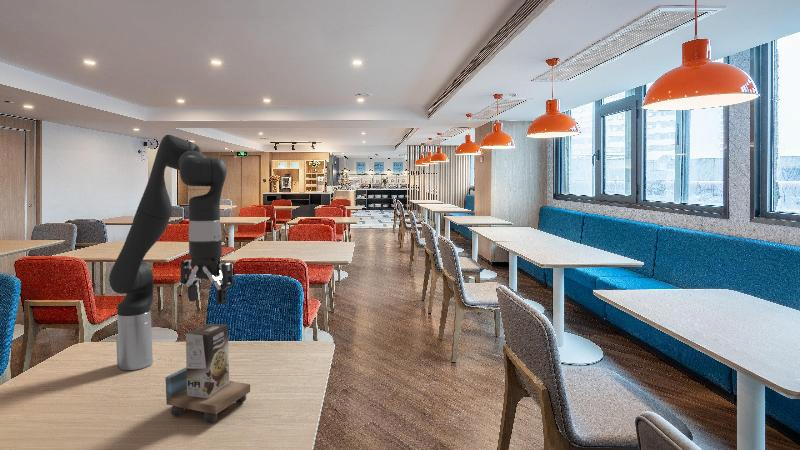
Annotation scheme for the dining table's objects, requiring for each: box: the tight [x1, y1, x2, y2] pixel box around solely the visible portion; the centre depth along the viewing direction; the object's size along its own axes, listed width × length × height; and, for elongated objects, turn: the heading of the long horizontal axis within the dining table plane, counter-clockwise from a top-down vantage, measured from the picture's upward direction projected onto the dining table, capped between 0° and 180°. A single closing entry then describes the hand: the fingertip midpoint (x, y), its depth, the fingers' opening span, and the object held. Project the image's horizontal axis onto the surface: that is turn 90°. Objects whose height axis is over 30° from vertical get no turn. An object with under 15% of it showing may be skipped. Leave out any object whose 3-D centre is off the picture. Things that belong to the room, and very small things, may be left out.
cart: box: [165, 366, 251, 425], centre depth 118 cm, size 15×13×10 cm
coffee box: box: [185, 323, 230, 399], centre depth 118 cm, size 9×6×16 cm
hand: (207, 302), depth 116 cm, fingers open, 8 cm apart
